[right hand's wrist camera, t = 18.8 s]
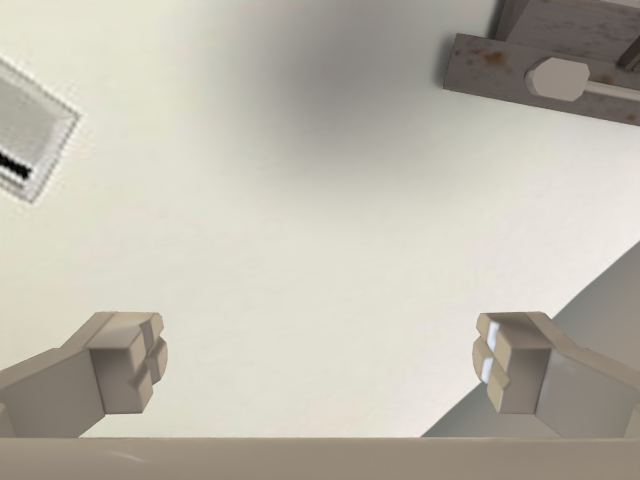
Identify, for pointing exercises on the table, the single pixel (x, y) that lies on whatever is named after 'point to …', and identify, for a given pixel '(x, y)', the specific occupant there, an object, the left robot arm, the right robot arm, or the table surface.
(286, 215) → the table surface
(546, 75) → the toy
